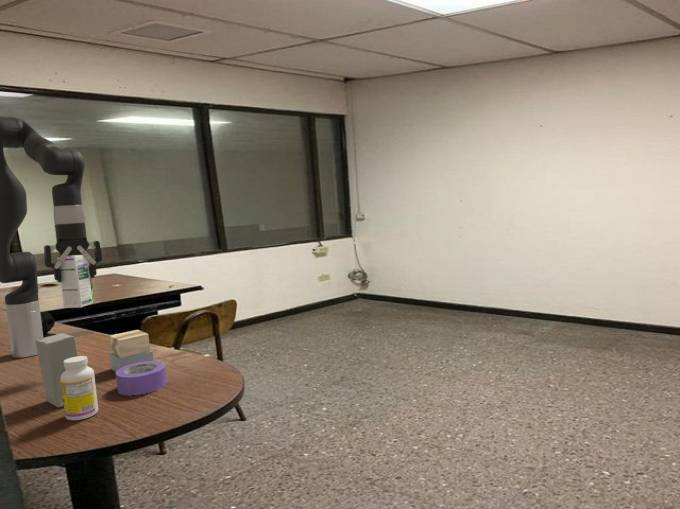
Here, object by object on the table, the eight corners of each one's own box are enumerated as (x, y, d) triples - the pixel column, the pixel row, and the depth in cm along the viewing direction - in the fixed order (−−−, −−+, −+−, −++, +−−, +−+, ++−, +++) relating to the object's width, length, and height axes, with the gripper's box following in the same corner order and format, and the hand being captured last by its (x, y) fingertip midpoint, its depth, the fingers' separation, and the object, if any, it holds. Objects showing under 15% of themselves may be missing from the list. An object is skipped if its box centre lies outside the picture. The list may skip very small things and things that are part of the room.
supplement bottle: (73, 410, 117) (66, 355, 116) (103, 407, 118) (97, 353, 116) (59, 423, 110) (52, 365, 109) (91, 420, 111) (84, 362, 110)
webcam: (45, 342, 182) (42, 314, 181) (28, 342, 184) (25, 314, 183) (62, 336, 190) (59, 309, 189) (45, 336, 192) (42, 310, 190)
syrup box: (81, 307, 142) (75, 255, 140) (62, 307, 143) (57, 256, 142) (95, 303, 148) (89, 253, 146) (77, 303, 149) (71, 253, 147)
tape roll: (147, 397, 123) (145, 377, 122) (107, 394, 126) (104, 375, 126) (176, 380, 134) (174, 361, 134) (139, 378, 138) (137, 360, 137)
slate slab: (111, 369, 147) (109, 352, 146) (143, 362, 152) (141, 345, 152) (121, 377, 140) (119, 359, 139) (154, 368, 145) (152, 351, 145)
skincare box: (86, 400, 123) (79, 335, 121) (53, 410, 118) (45, 342, 116) (73, 392, 129) (66, 330, 127) (41, 401, 124) (33, 337, 122)
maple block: (111, 352, 146) (109, 335, 145) (139, 346, 151) (138, 329, 151) (120, 358, 140) (119, 340, 139) (150, 351, 145) (148, 334, 145)
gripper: (93, 220, 150) (99, 275, 152) (38, 223, 141) (45, 282, 143) (100, 220, 144) (106, 277, 146) (43, 224, 135) (50, 284, 137)
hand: (76, 279), depth 145 cm, fingers closed on syrup box, 8 cm apart
